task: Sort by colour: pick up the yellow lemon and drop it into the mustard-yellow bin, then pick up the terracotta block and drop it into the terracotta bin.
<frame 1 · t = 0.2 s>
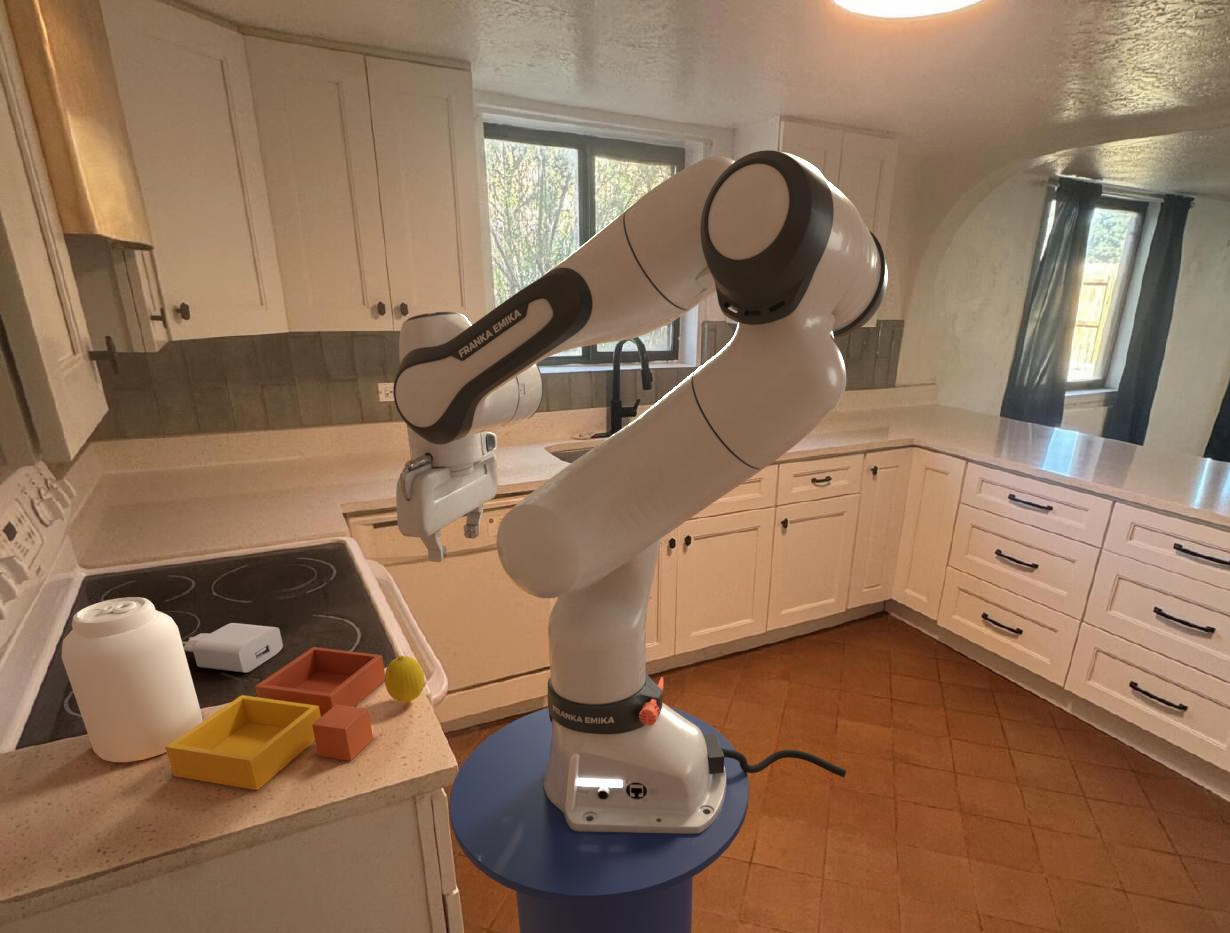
hand: (456, 548, 94), 26 cm above the countertop, tool pointing down, fingers open, 8 cm apart
charger: (226, 658, 119), on the countertop
terracotta bin: (326, 695, 107), on the countertop
yellow bin: (252, 753, 94), on the countertop
lemon: (408, 703, 106), on the countertop
block: (346, 747, 95), on the countertop
can: (152, 738, 97), on the countertop
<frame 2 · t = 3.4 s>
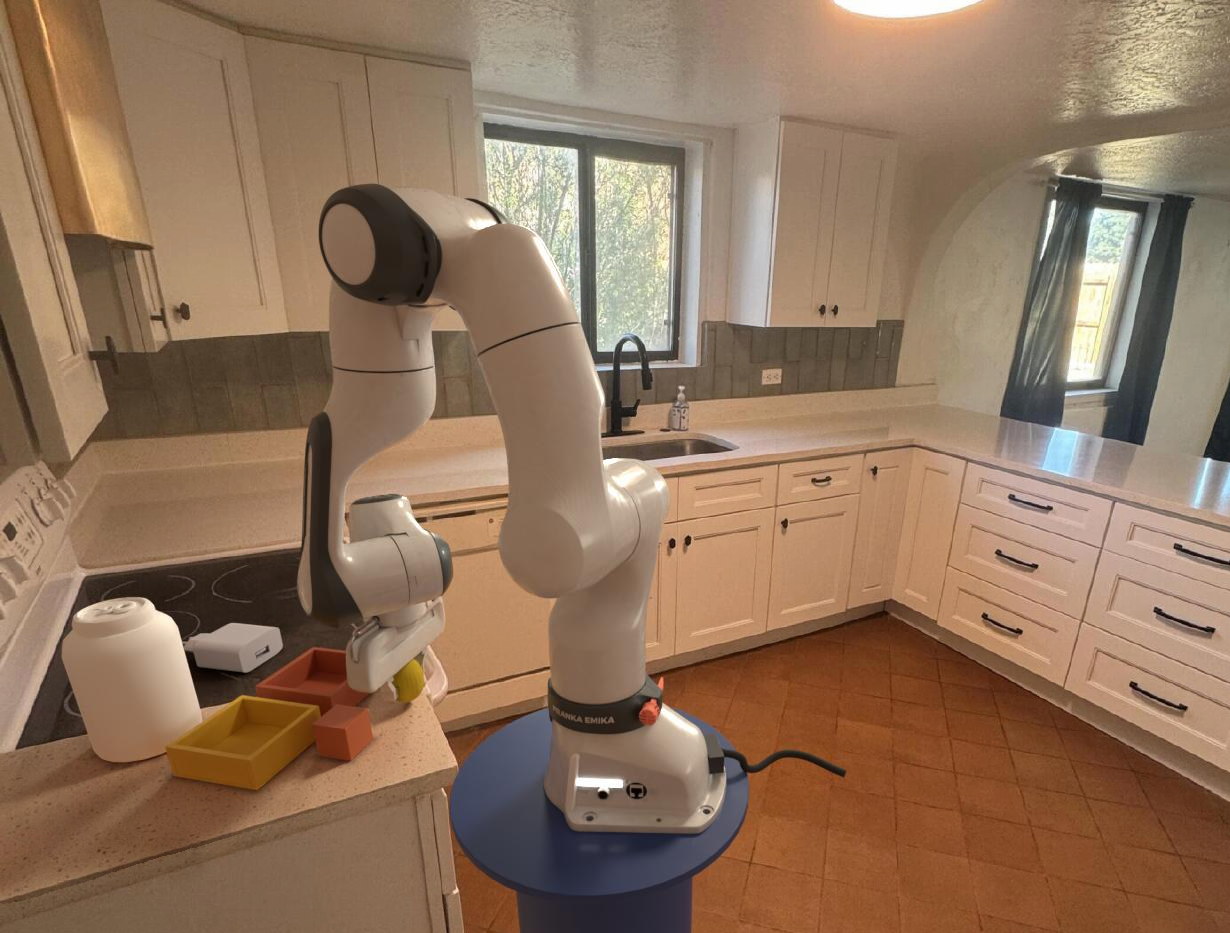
hand: (405, 686, 105), 3 cm above the countertop, tool pointing down, fingers closed on lemon, 5 cm apart
lemon: (408, 703, 106), on the countertop, touching gripper
everything else where it was.
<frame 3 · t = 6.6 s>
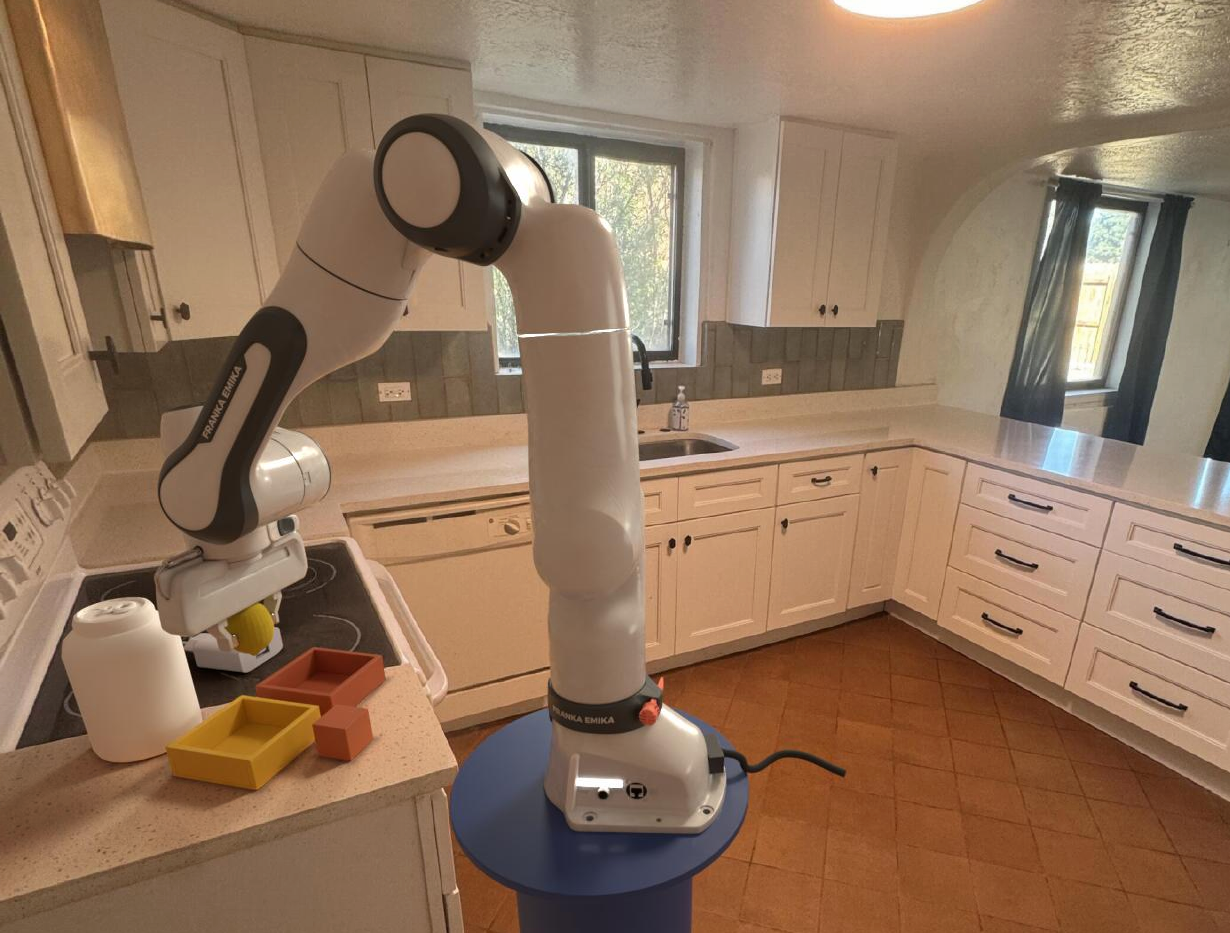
hand: (251, 636, 89), 17 cm above the countertop, tool pointing down, fingers closed on lemon, 5 cm apart
lemon: (255, 656, 90), point 14 cm above the countertop, touching gripper
everything else where it was.
when the fingers open (3 cm above the countertop, at t = 10.3 s): lemon stays where it is, resting on yellow bin.
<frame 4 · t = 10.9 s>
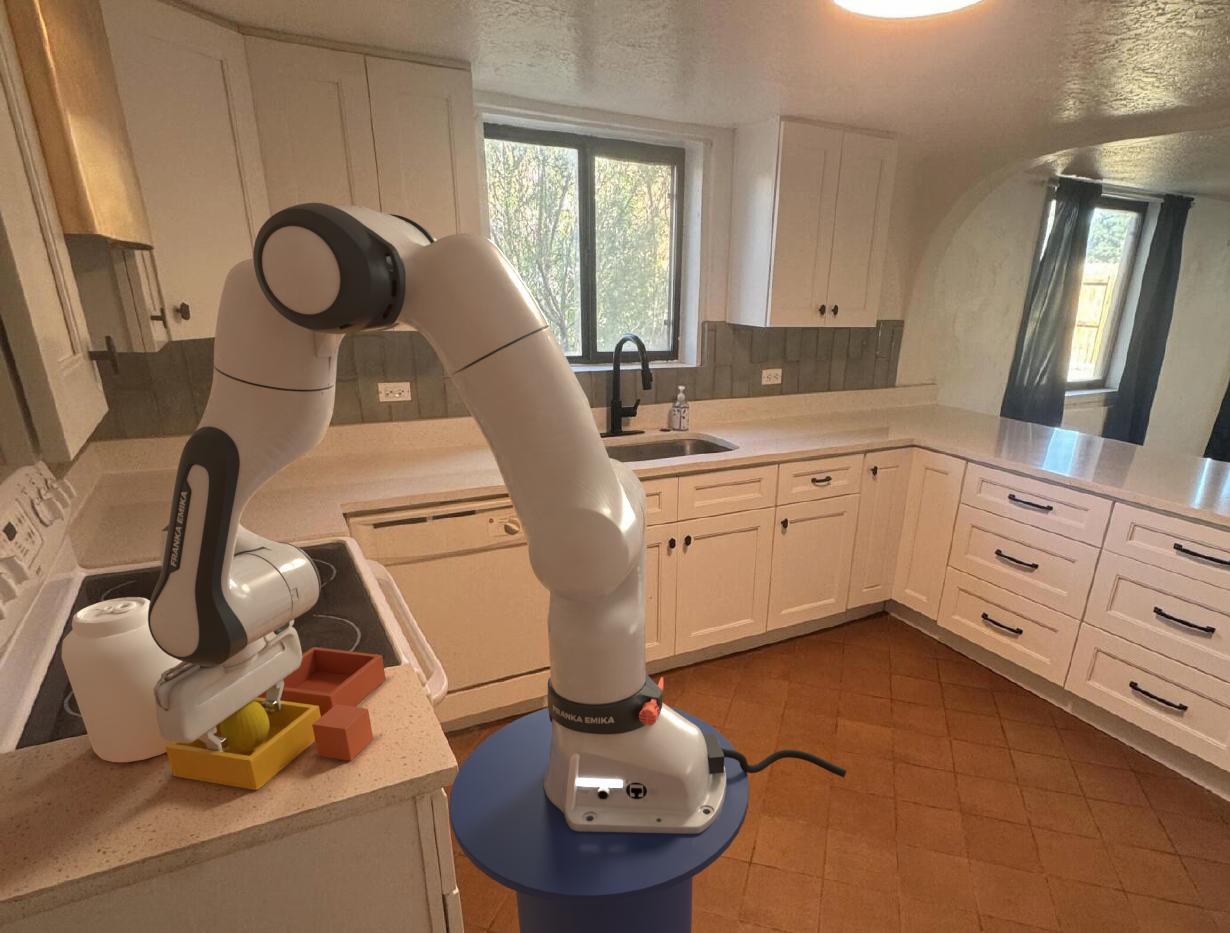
hand: (247, 731, 92), 4 cm above the countertop, tool pointing down, fingers open, 8 cm apart
lemon: (251, 752, 93), resting on yellow bin
everything else where it was.
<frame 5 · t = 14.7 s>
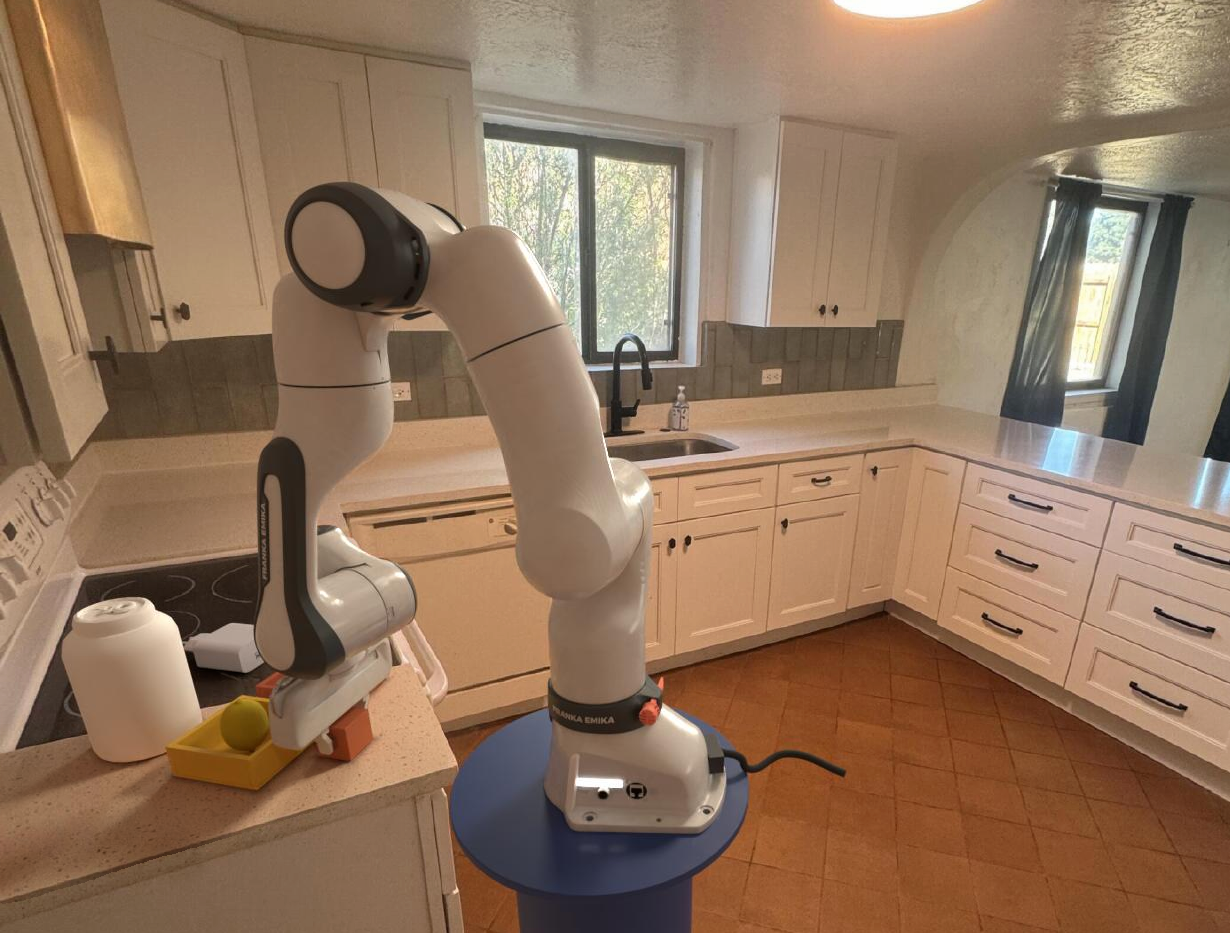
hand: (344, 737, 94), 2 cm above the countertop, tool pointing down, fingers closed on block, 5 cm apart
block: (346, 747, 95), on the countertop, touching gripper
everything else where it was.
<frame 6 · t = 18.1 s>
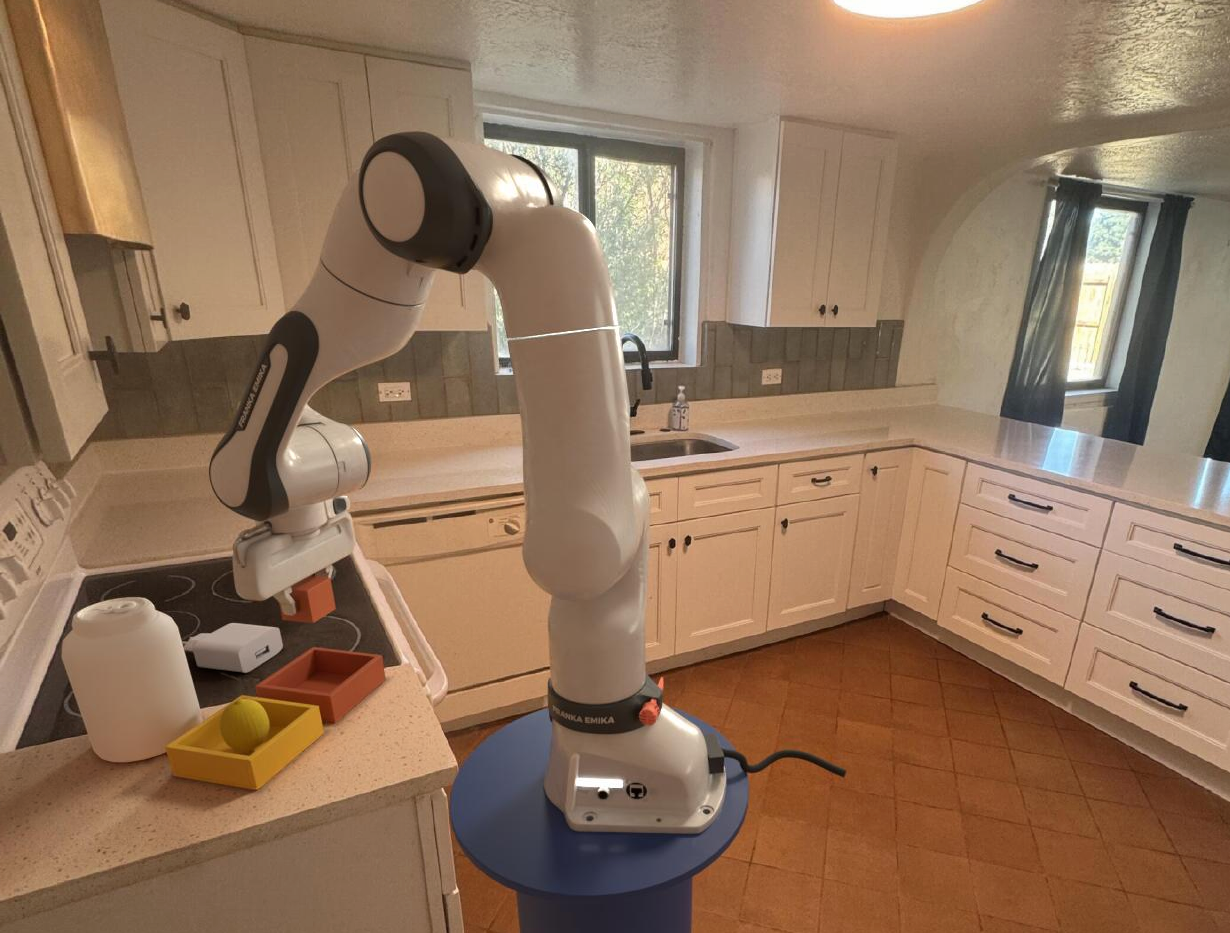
hand: (308, 604, 100), 16 cm above the countertop, tool pointing down, fingers closed on block, 5 cm apart
block: (309, 614, 101), point 15 cm above the countertop, touching gripper
everything else where it was.
when the fingers open (2 cm above the countertop, at t = 22.4 s): block stays where it is, resting on terracotta bin.
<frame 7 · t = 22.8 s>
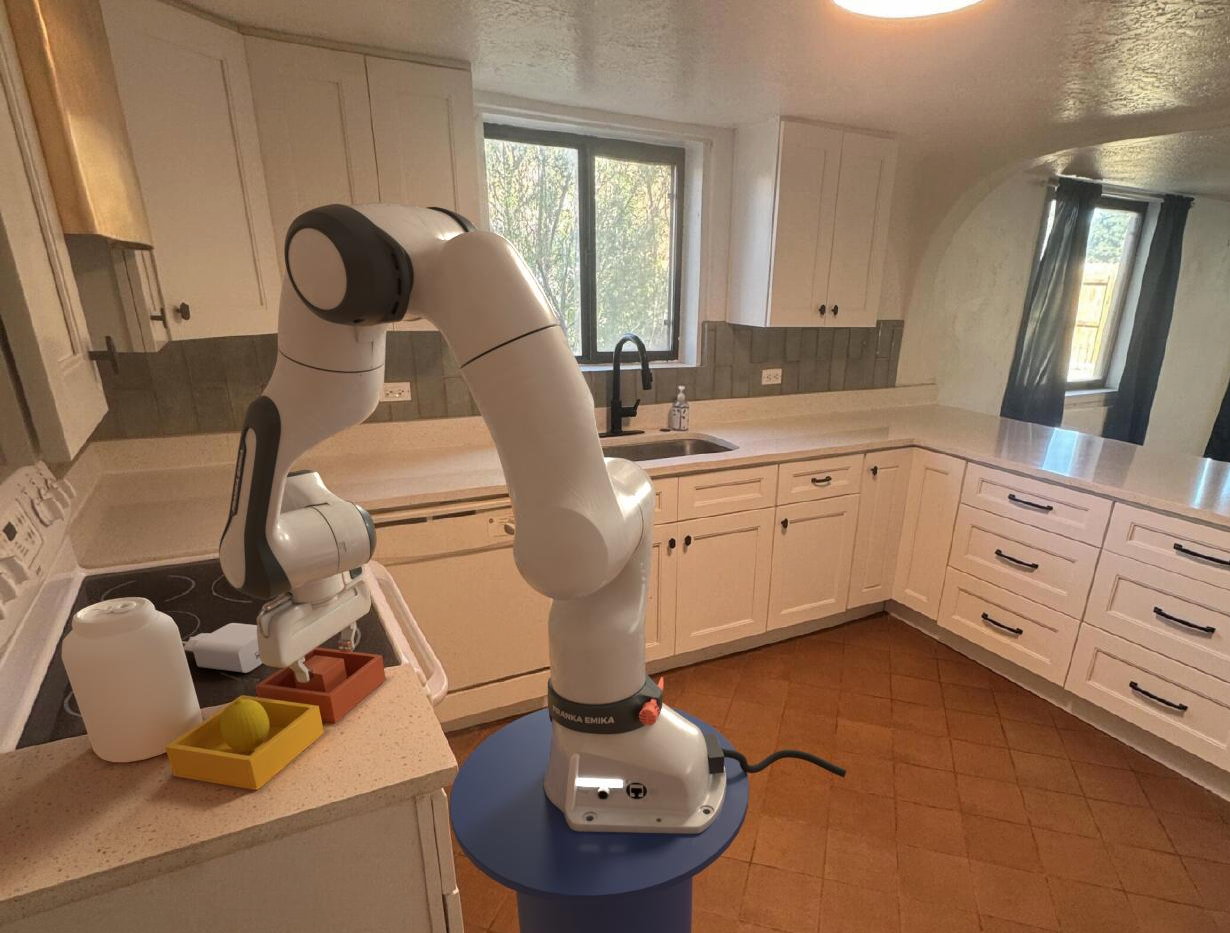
hand: (327, 664, 105), 5 cm above the countertop, tool pointing down, fingers open, 8 cm apart
block: (324, 693, 107), resting on terracotta bin
everything else where it was.
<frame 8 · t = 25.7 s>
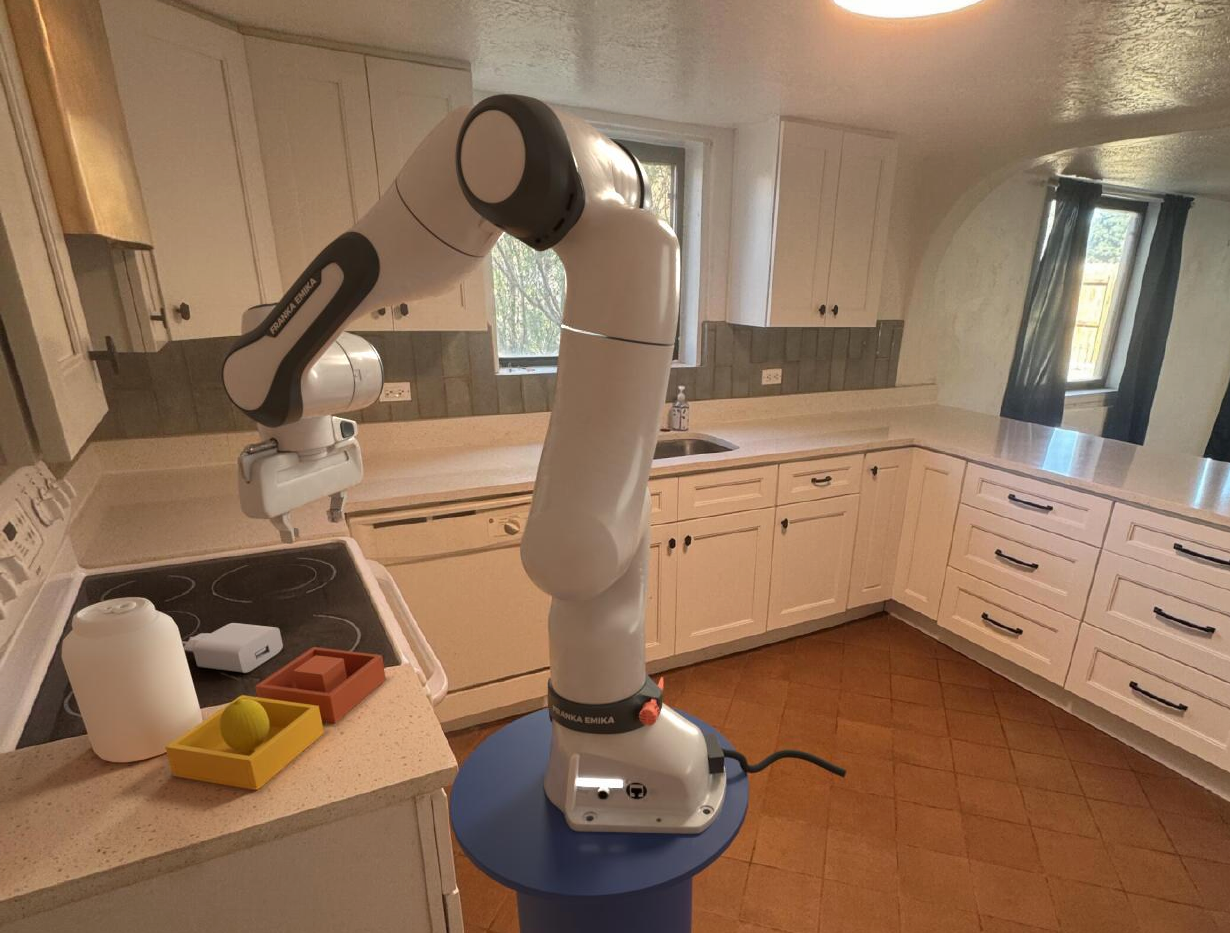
hand: (315, 531, 97), 27 cm above the countertop, tool pointing down, fingers open, 8 cm apart
nothing on the countertop moved.
at the end: lemon inside the target area in the yellow bin (0.1 cm from its centre), point 0.3 cm above the yellow bin's base; block inside the target area in the terracotta bin (0.1 cm from its centre), point 0.5 cm above the terracotta bin's base; the gripper is holding nothing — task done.
